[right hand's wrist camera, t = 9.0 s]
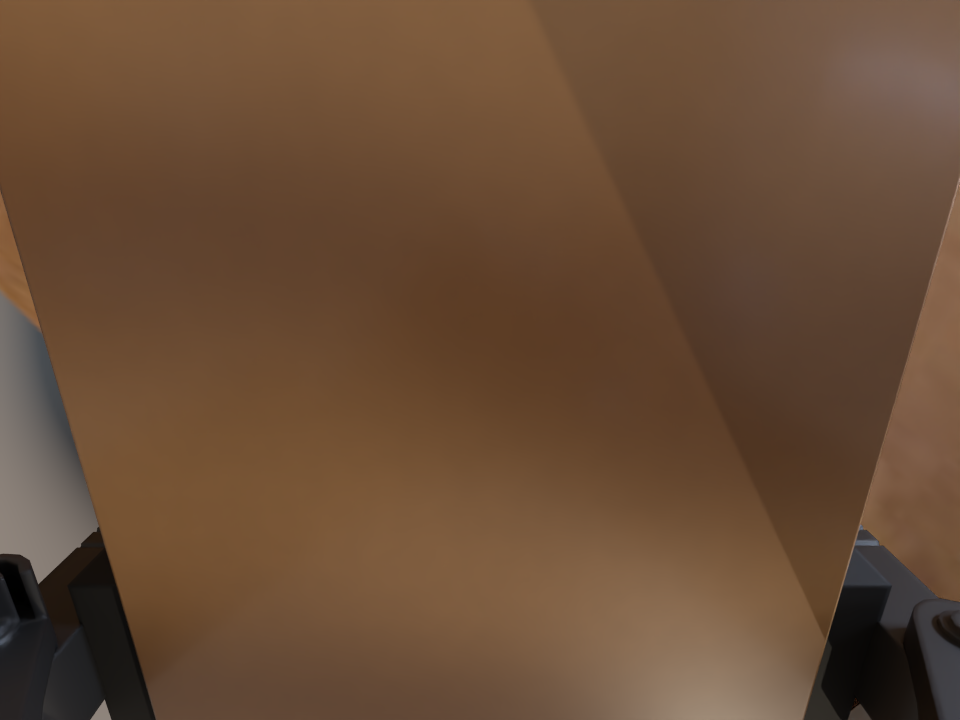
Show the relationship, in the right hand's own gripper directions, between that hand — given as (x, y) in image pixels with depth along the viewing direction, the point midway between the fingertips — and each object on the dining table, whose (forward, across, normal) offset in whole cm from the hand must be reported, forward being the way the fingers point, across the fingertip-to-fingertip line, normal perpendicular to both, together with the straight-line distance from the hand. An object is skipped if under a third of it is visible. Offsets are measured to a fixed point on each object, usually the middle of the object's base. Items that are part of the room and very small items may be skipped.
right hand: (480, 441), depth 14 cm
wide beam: (+1, 0, -26) cm, 27 cm away
